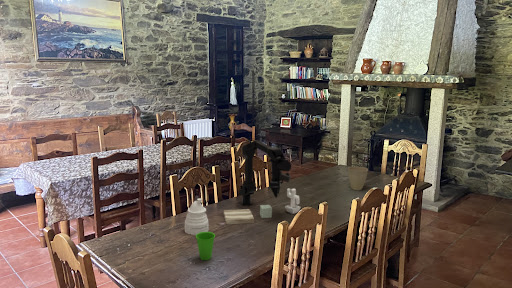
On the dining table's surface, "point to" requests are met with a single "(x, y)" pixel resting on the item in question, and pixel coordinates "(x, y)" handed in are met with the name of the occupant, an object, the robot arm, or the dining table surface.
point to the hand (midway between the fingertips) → (277, 195)
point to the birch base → (238, 216)
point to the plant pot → (357, 177)
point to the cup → (205, 244)
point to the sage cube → (266, 211)
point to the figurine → (293, 201)
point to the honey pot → (196, 219)
